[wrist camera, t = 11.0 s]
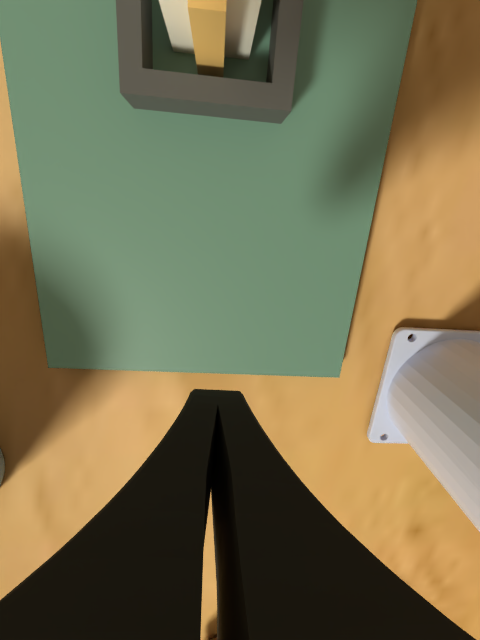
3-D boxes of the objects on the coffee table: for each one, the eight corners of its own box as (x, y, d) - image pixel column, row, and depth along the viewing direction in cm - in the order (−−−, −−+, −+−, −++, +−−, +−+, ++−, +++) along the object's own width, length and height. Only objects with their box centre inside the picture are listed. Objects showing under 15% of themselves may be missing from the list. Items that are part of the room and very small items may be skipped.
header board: (437, -157, 12) (506, -270, 9) (333, 369, 19) (353, 397, 16) (-24, -245, 10) (-113, -412, 8) (57, 358, 18) (27, 388, 15)
